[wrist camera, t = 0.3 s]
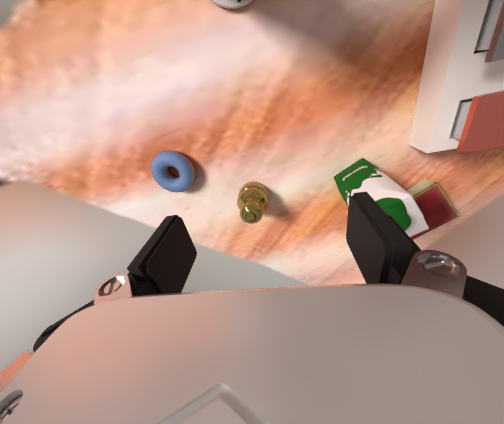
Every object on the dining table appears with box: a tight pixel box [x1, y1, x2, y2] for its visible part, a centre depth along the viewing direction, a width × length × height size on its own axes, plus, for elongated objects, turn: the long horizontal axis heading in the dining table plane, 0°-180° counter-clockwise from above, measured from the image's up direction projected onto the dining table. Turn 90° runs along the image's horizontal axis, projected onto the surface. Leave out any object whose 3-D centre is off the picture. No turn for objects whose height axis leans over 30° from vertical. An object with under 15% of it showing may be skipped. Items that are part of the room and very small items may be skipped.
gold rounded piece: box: [237, 182, 268, 224], centre depth 47 cm, size 7×8×10 cm
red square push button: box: [450, 90, 504, 153], centre depth 32 cm, size 8×8×6 cm
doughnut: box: [151, 151, 195, 192], centre depth 48 cm, size 10×10×5 cm
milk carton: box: [334, 158, 429, 237], centre depth 39 cm, size 9×9×20 cm
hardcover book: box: [407, 179, 460, 240], centre depth 51 cm, size 12×21×4 cm, turn 137°
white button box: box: [408, 0, 504, 153], centre depth 33 cm, size 22×12×6 cm, turn 12°
